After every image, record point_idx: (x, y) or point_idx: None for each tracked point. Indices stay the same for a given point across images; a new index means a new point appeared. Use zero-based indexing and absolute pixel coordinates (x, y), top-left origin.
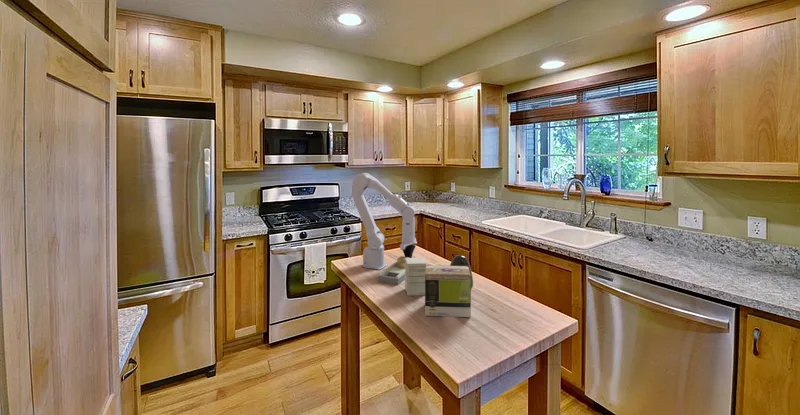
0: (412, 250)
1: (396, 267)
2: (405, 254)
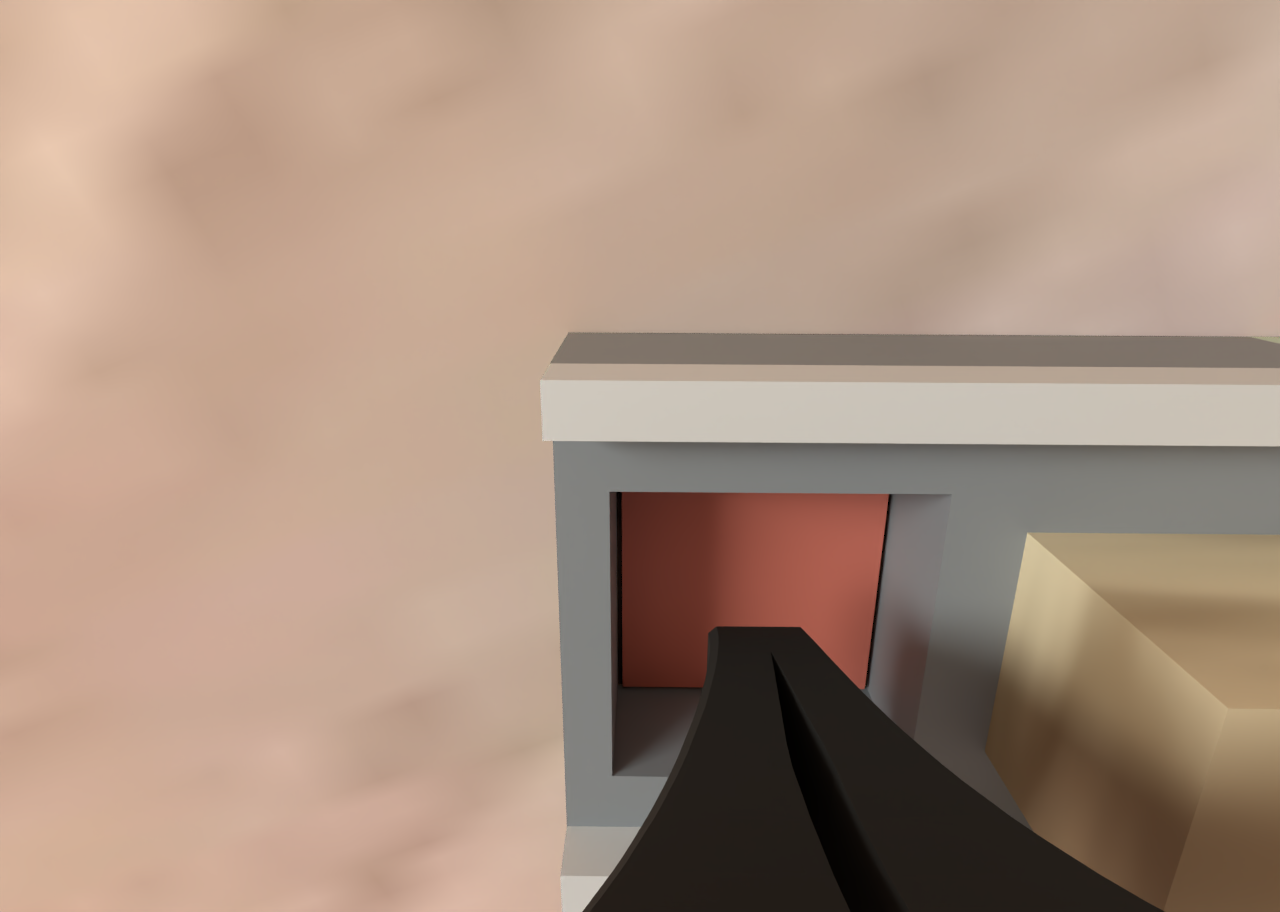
0: (904, 896)
1: None
2: None
